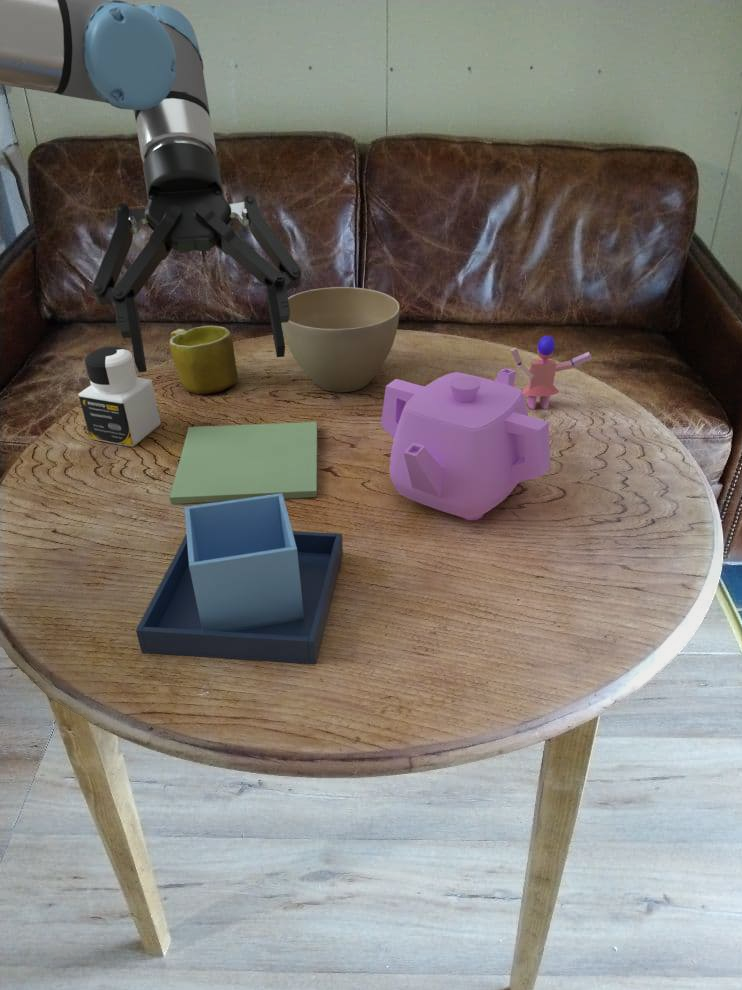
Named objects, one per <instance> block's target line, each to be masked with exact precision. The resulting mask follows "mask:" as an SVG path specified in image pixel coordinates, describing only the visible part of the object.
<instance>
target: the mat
mask: <svg viewBox="0 0 742 990" xmlns="http://www.w3.org/2000/svg"><path fill="white" fill-rule="evenodd" d="M279 493H283V497H284V500H286V499H303V498H304V499H309V498H318V422H317V421H306V422H305V421H303V422H282V423H280V422H278V423H255V424H229V425H207V426H205V425H204V426H188V429H187V432H186V436H185V440H184V443H183V448H182V451H181V454H180V457H179V461H178V465H177V469H176V472H175V476H174V479H173V483H172V487H171V490H170V494H169V503H170V504H171V505H178V504H181V505H183V504H199V503H200V504H205V503H215V502H222V501H230V500H237V499H244V498H251V497H258V496H265V495H272V494H279Z"/></svg>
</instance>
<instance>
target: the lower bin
mask: <svg viewBox="0 0 742 990" xmlns="http://www.w3.org/2000/svg"><path fill="white" fill-rule="evenodd" d="M292 531H293V535H294V539H295V543H296V547H297V553H298V563H299V573H300V583H301V593H302V602H303V612H304V620H298V621H292V622H286V623H281V624H275V625H269V626H264V627H258V628H252V629H247V630H241V631H235V632H220V631H204V630H202V626H201V621H200V616H199V612H198V607H197V602H196V597H195V592H194V587H193V583H192V578H191V573H190V568H189V559H188V546H187V533H186V534H185V535H184V538H183V539H182V541H181V543H180V545H179V547H178V549H177V550H176V552H175V555H174V557H173V558H172V561H171V562H170V564H169V566H168V568H167V570H166V572H165V574H164V575H163V577H162V579H161V581H160V583H159V585H158V587H157V589H156V591H155V592H154V595H153V597H152V598H151V600H150V602H149V604H148V606H147V608H146V609H145V612H144V614H143V615H142V617H141V619H140V621H139V623H138V625H137V627H136V629H135V633H136V636H137V640H138V644H139V647H140V651H141V653H142V654H153V655H171V656H187V657H200V658H201V657H202V658H216V659H231V660H246V661H261V662H276V663H278V662H279V663H293V664H308V665H310V664H311V665H316V664H317V662H318V658H319V654H320V650H321V646H322V642H323V637H324V634H325V629H326V626H327V622H328V618H329V613H330V610H331V605H332V602H333V598H334V592H335V590H336V585H337V581H338V578H339V577H338V576H339V573H340V569H341V565H342V561H343V558H344V557H343V556H344V546H343V533H339V532H338V533H337V532H318V531H317V532H315V531H301V530H299V531H298V530H292Z"/></svg>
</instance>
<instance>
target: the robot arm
mask: <svg viewBox="0 0 742 990" xmlns="http://www.w3.org/2000/svg"><path fill="white" fill-rule="evenodd" d="M203 62H204V61H203V58H202V54H201V51H200V46H199V42H198V39H197V35H196V33H195V29H194V28H193V25H192V23H191V22H190V20H189V19H188V18H187V17H186V15H184V14H183V13H182V12H180V11H179V10H177V9H176V8H174V7H172V6H170V5H167V4H162V3H160V4H159V5H151V4H149V3H146V4H142V5H141V4H140V5H139V6H137V4H133V3H130V2H128V1H123V0H0V85H2V86H8V87H14V88H21V89H27V90H33V91H39V92H45V93H49V94H56V95H59V96H63V97H70V98H76V99H81V100H88V101H95V102H100V103H106V104H109V105H110V106H111V107H114V108H117V109H120V110H129V111H133V114H134V119H135V126H136V127H135V128H136V133H137V139H138V144H139V145H138V146H139V152H140V158H141V160H142V170H143V171H142V172H143V176H144V183H145V189H146V190H145V191H146V195H147V196H146V197H147V205H146V207H145V209H137V208H136V209H135V208H129V205H128V204H126V203H124V202H123V203H122V202H121V203H118V204H117V205H116V207H115V218H116V220H115V221H116V225H115V227H114V230H113V232H112V234H111V237H110V240H109V242H108V245H107V247H106V250H105V252H104V255H103V257H102V260H101V263H100V265H99V267H98V270H97V272H96V275H95V277H94V280H93V283H92V285H91V291H92V293H93V295H94V298H95V300H96V302H97V303H98V304H99V306H100V305H101V306H106V305H110V306H112V307H114V310H115V319H116V326H117V330H118V332H119V334H120V336H121V337H122V339H131V345H132V352H133V361H134V365H135V367H136V369H137V372H138V373H146V372H148V370H147V363H146V356H145V350H144V342H143V336H142V331H141V323H140V317H139V311H138V307H137V304H136V301H135V298H136V297H137V296H138V294H139V293H140V292H141V290H142V289H143V288H144V286H145V285H146V283H147V282H148V281H149V279H150V278H151V276H152V275H153V274H154V273H155V271H156V270H157V268H158V267H159V265H160V264H161V263H162V261H165V260H166V259H167V258H168V256H169V255H170V254H171V252H172V251H173V250H174V251H177V252H178V253H179V254H186V253H190V252H194V251H199V252H210V251H211V249H212V248H213V249H214V248H215V247H216V248H217V249H219V250H220V252H221V253H223V254H224V255H226V256H229V257H231V258H232V259H233V260H234V261H235V262H236V263H237V264H239V265H240V266H241V267H242V268H243V269H244V270H246V271H247V272H248V273H249V274H251V276H253V277H254V278H255V279H256V280H258V281H259V282H260V283H261V284H262V285H263V286H264V287H266V302H267V309H268V314H269V320H270V325H271V331H272V338H273V342H274V343H273V344H274V349H275V355H276V358H284V357H285V353H286V352H285V351H286V343H285V337H284V334H283V331H282V325H281V323H285V322H289V318H290V308H289V303H288V298H289V296H288V291H289V290H290V289H297V288H299V287H300V285H301V280H302V269H301V267H300V265H298V263H297V262H296V260H295V259H294V258H293V256H292V255H291V253H290V252H289V251H288V250H287V248H286V247H285V246H284V244H283V243H282V241H281V240H280V239H279V238H278V236H277V235H276V233H275V232H274V231H273V229H272V228H271V226H270V225H269V224H268V222H267V221H266V220H265V218H264V217H263V215H261V212H260V209H259V205H258V202H257V199H256V197H255V196H254V195H252V194H247V195H246V196H245V197H243V198H244V199H243V201H240V202H233V203H229V202H228V201H227V199H226V198H225V195H224V190H223V183H222V178H221V177H222V176H221V170H220V164H219V162H218V155H217V146H216V141H215V134H214V130H213V129H214V128H213V122H212V120H211V115H210V114H211V112H210V105H209V99H208V93H207V87H206V82H205V74H204V69H205V68H204V63H203ZM232 219H236V220H238V221H239V223H240V224H241V225H242V226H243V227H247V228H248V230H249V232H250V234H251V235H252V237H253V238H254V240H255V241H256V242H257V243H258V245H259V247H261V249H262V250H263V252H264V253H265V254H266V255H267V257H268V258H269V259H270V261H271V262H272V264H273V265H274V266H275V267H274V266H273V265H272V264H271V263H270V262H268V261H267V260H266V259H265V258H264V257H263V256H261V255H260V254H259V253H258V252H257V251H256V250H254V249H253V248H252V247H251V245H249V244H247V243H246V242H245V241H244V240H243V239H242V238H240V237H239V236H238V235H237V234H236V232H235V231H234V229H233V228H231V227H230V223H231V221H232ZM143 225H147V226H148V227H149V228H150V229H151V231H152V232H151V233H150V236H149V238H148V241H147V243H146V244H145V245H144V247H143V248H142V249H141V250H140V252H139V254H138V255H137V256H136V258H135V259H134V260H133V262H132V263H131V264H130V265H129V267H128V268H127V270H126V272H125V273H124V274H123V275H122V277H120V274H121V272H122V269H123V268H124V264H125V263H126V262H125V261H126V259H127V257H128V254H129V251H130V249H131V246H132V243H133V239H134V235H137V234H139V232H140V230H141V228H142V226H143ZM119 277H120V279H119ZM118 280H119V281H118Z"/></svg>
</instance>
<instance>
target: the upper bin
mask: <svg viewBox="0 0 742 990" xmlns="http://www.w3.org/2000/svg"><path fill="white" fill-rule="evenodd" d="M184 518H185V531H186V532H185V533H186V534H187V546H188V559H189V568H190V573H191V578H192V583H193V587H194V592H195V597H196V602H197V607H198V612H199V616H200V621H201V626H202V630H204V631H220V632H235V631H241V630H247V629H252V628H258V627H264V626H269V625H275V624H281V623H286V622H292V621H298V620H304V612H303V602H302V593H301V583H300V573H299V563H298V553H297V547H296V543H295V539H294V535H293V531H294V530H293V528H292V524H291V520H290V517H289V513H288V508H287V505H286V500H285V499H284V497H283V493H279V494H272V495H265V496H258V497H251V498H244V499H237V500H230V501H222V502H207V503H200V504H195V505H194V504H193V505H188V506H184Z"/></svg>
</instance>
